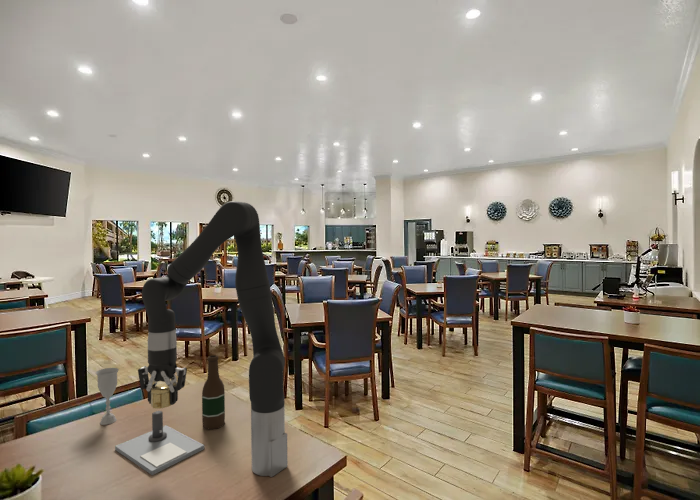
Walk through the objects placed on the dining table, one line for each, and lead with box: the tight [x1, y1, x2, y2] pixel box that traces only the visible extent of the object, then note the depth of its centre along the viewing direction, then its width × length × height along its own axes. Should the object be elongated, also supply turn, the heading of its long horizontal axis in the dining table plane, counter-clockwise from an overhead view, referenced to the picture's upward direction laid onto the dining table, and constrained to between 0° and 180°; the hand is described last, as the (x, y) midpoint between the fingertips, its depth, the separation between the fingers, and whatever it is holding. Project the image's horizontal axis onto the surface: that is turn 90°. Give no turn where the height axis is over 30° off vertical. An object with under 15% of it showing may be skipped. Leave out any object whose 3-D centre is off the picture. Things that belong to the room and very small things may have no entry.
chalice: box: [95, 367, 119, 426], centre depth 134 cm, size 7×7×18 cm
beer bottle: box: [201, 354, 226, 431], centre depth 131 cm, size 8×8×24 cm
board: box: [114, 410, 205, 476], centre depth 116 cm, size 22×16×9 cm
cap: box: [150, 383, 172, 410], centre depth 110 cm, size 7×6×5 cm
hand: (162, 403), depth 110 cm, fingers closed on cap, 5 cm apart
